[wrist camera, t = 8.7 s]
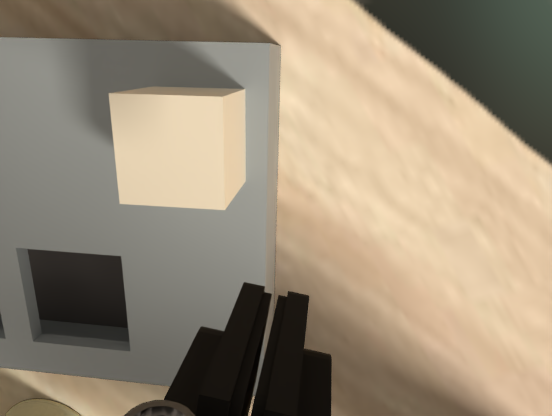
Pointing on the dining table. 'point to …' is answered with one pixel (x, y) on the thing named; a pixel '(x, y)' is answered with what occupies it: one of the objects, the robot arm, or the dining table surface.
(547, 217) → the dining table surface
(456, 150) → the dining table surface
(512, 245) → the dining table surface
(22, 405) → the can
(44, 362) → the box
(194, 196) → the block
